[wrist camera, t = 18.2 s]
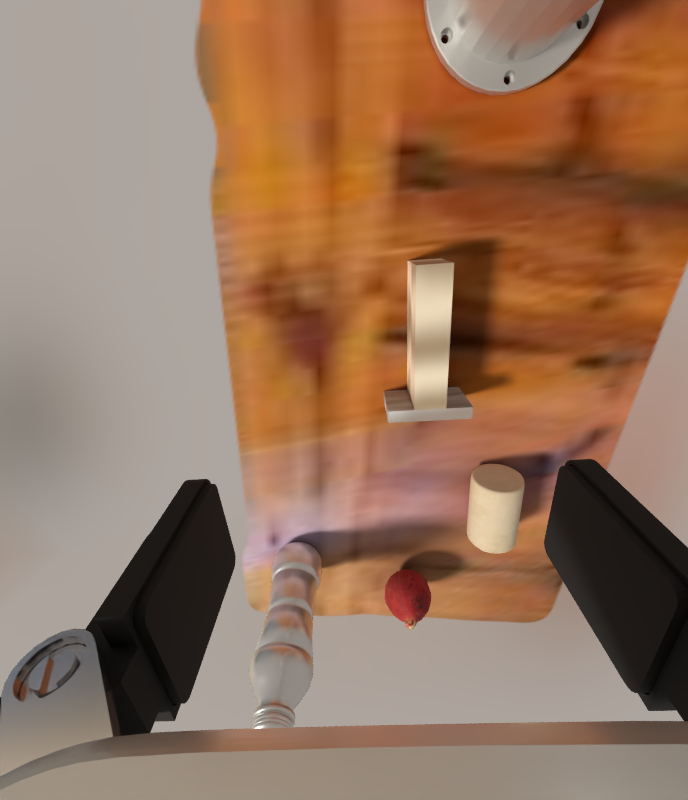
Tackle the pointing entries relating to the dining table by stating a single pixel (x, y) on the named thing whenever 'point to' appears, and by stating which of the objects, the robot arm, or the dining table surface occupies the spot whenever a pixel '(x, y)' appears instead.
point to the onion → (408, 596)
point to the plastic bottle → (286, 638)
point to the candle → (494, 507)
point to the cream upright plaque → (428, 349)
